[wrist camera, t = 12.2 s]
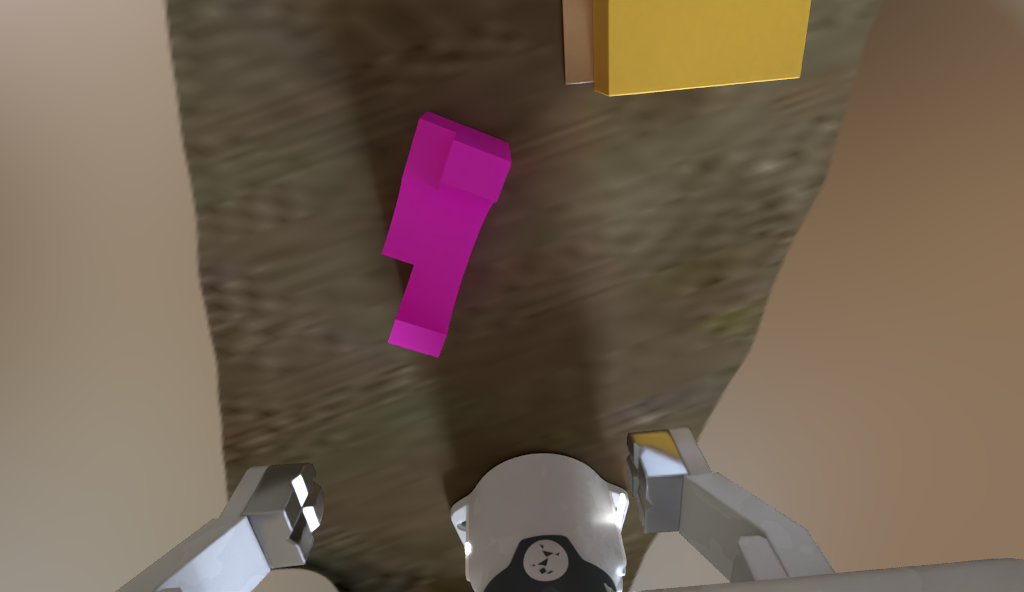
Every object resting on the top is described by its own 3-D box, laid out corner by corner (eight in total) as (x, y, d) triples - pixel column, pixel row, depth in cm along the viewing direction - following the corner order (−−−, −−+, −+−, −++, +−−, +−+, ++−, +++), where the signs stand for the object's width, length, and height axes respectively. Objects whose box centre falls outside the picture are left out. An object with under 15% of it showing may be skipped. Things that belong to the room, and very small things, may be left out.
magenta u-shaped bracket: (427, 110, 37) (412, 124, 30) (508, 142, 38) (511, 162, 31) (375, 287, 43) (353, 332, 36) (446, 310, 44) (438, 357, 37)
